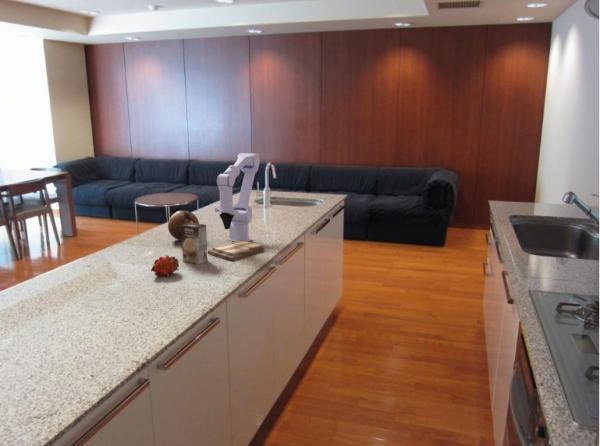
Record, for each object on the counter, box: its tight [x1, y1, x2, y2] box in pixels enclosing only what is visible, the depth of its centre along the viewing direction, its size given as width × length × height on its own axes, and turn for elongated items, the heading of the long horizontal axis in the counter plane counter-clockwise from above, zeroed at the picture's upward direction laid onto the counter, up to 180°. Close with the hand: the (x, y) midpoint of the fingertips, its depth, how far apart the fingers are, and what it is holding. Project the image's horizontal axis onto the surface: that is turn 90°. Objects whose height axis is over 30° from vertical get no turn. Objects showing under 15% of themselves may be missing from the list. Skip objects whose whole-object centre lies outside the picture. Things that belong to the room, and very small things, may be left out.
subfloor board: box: [207, 240, 265, 262], centre depth 224 cm, size 16×20×3 cm
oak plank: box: [212, 242, 250, 256], centre depth 221 cm, size 14×10×1 cm
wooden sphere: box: [167, 210, 200, 242], centre depth 242 cm, size 15×15×15 cm
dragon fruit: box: [150, 254, 180, 277], centre depth 194 cm, size 8×8×12 cm
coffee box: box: [181, 222, 208, 265], centre depth 210 cm, size 9×6×16 cm
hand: (227, 228), depth 228 cm, fingers closed
